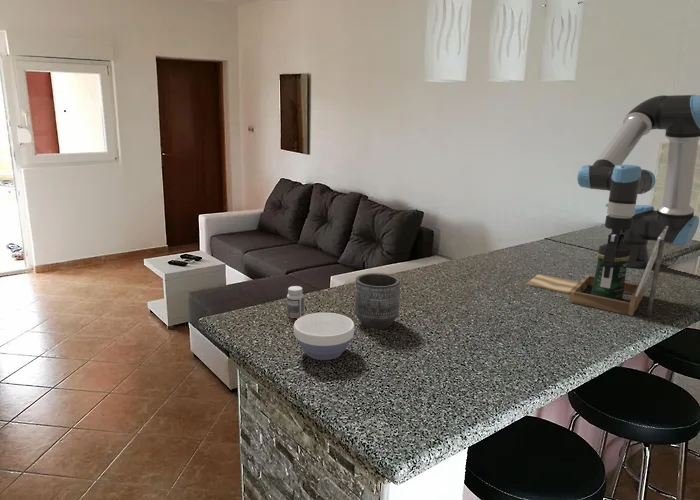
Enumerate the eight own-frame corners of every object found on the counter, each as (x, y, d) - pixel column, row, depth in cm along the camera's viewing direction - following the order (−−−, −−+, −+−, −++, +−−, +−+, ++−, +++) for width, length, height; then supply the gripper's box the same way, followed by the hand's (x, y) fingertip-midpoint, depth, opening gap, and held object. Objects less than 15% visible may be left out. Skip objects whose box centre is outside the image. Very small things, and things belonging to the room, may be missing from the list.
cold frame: (584, 284, 179) (594, 217, 173) (658, 298, 167) (672, 226, 160) (568, 302, 162) (578, 227, 156) (649, 319, 149) (664, 239, 143)
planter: (347, 318, 146) (348, 275, 143) (385, 312, 151) (387, 270, 147) (365, 335, 135) (367, 289, 132) (406, 328, 140) (408, 283, 137)
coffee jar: (610, 305, 160) (619, 247, 155) (586, 298, 166) (594, 242, 161) (626, 299, 165) (636, 243, 160) (603, 292, 171) (611, 238, 167)
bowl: (305, 371, 116) (305, 340, 114) (286, 345, 129) (286, 316, 127) (363, 360, 122) (364, 330, 120) (340, 336, 134) (340, 309, 132)
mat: (538, 275, 188) (538, 273, 188) (578, 283, 180) (579, 281, 180) (525, 285, 177) (526, 283, 177) (568, 293, 170) (568, 292, 169)
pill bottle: (296, 311, 150) (296, 284, 148) (307, 316, 147) (307, 288, 145) (283, 315, 147) (283, 287, 145) (294, 320, 144) (293, 292, 142)
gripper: (614, 209, 170) (604, 270, 176) (598, 220, 151) (587, 289, 157) (639, 211, 166) (629, 275, 172) (626, 223, 147) (615, 294, 152)
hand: (609, 282), depth 164 cm, fingers open, 12 cm apart
